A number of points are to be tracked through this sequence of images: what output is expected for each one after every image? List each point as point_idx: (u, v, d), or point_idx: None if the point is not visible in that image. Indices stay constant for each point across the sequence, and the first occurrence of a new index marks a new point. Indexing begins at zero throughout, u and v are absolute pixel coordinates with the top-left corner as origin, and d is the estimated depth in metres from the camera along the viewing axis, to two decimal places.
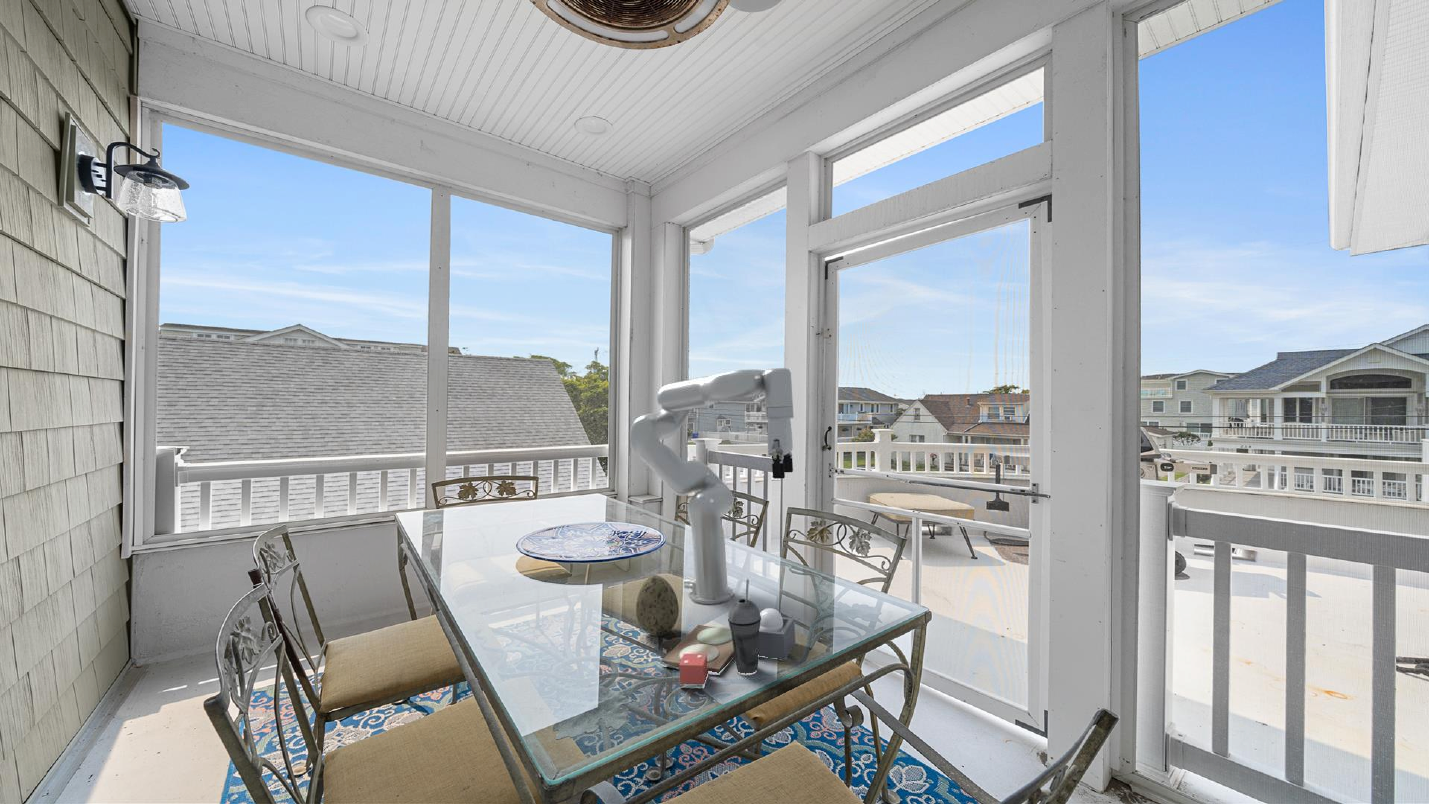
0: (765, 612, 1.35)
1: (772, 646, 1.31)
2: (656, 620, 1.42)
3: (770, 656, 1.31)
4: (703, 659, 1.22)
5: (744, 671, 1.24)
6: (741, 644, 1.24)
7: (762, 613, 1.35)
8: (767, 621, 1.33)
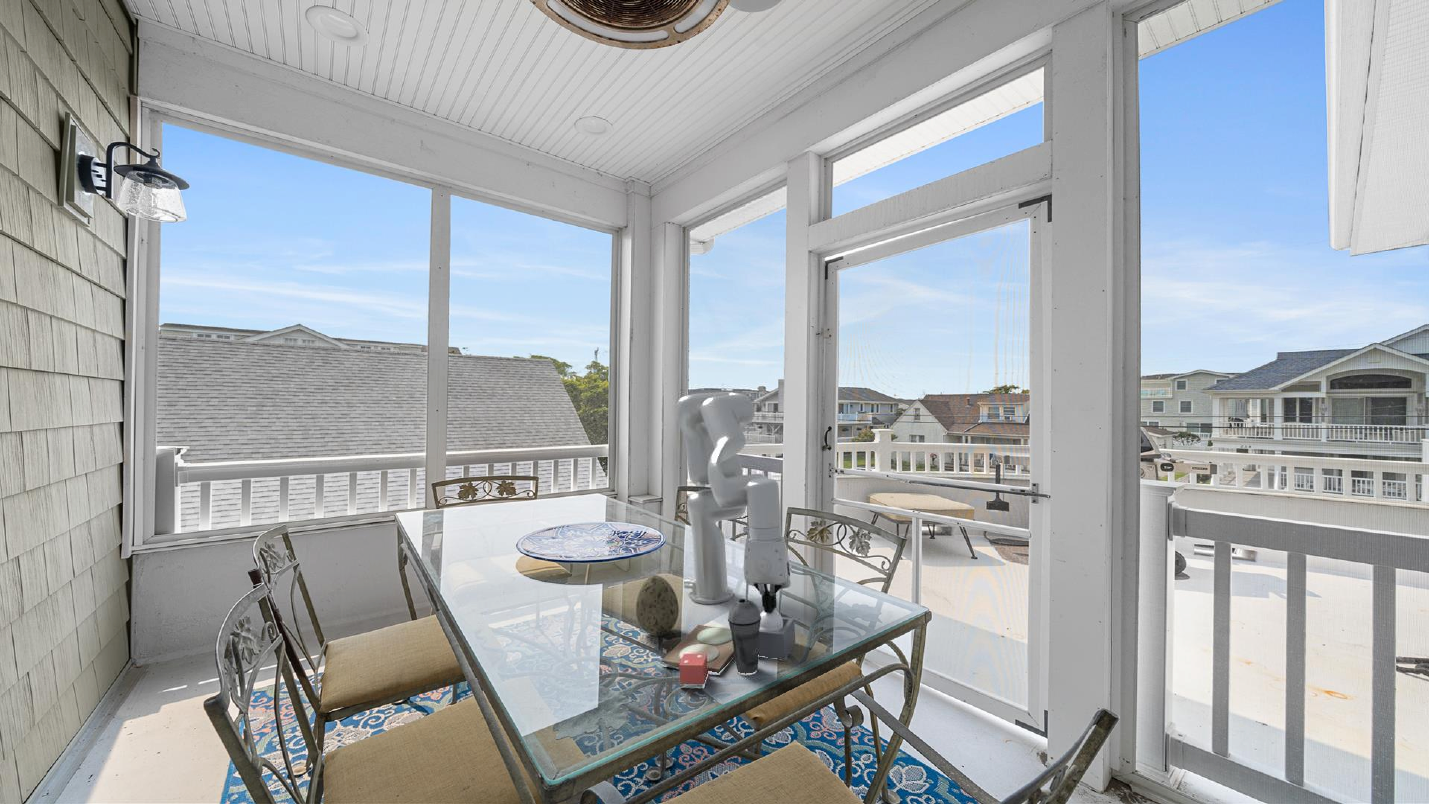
0: (765, 613, 1.35)
1: (772, 646, 1.31)
2: (656, 620, 1.42)
3: (770, 656, 1.31)
4: (703, 659, 1.22)
5: (744, 671, 1.24)
6: (741, 644, 1.24)
7: (762, 614, 1.35)
8: (767, 622, 1.33)
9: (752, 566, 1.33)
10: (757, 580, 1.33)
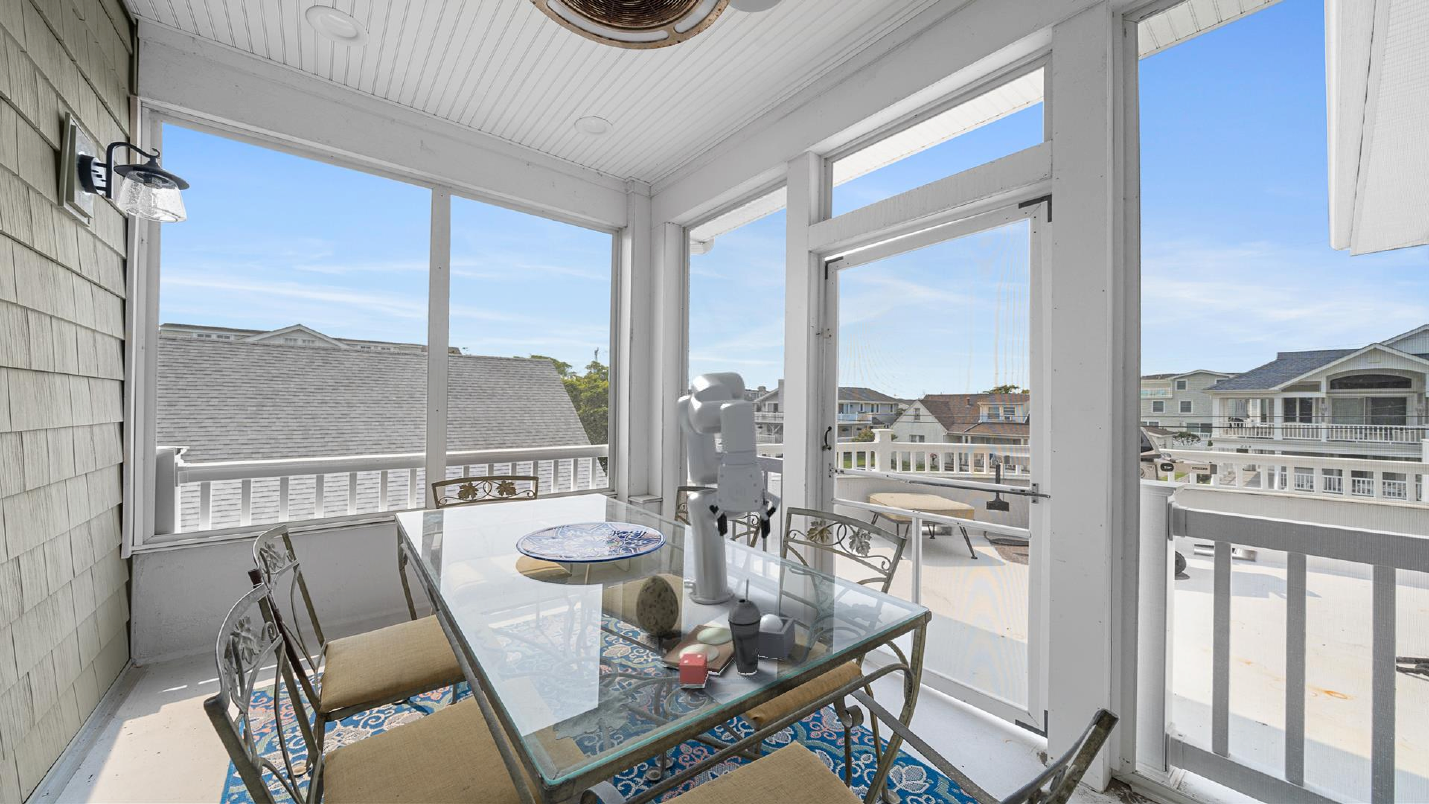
0: (765, 618, 1.35)
1: (772, 646, 1.31)
2: (656, 620, 1.42)
3: (770, 656, 1.31)
4: (703, 659, 1.22)
5: (744, 671, 1.24)
6: (741, 644, 1.24)
7: (762, 619, 1.35)
8: (767, 627, 1.33)
9: (726, 493, 1.25)
10: (731, 508, 1.25)
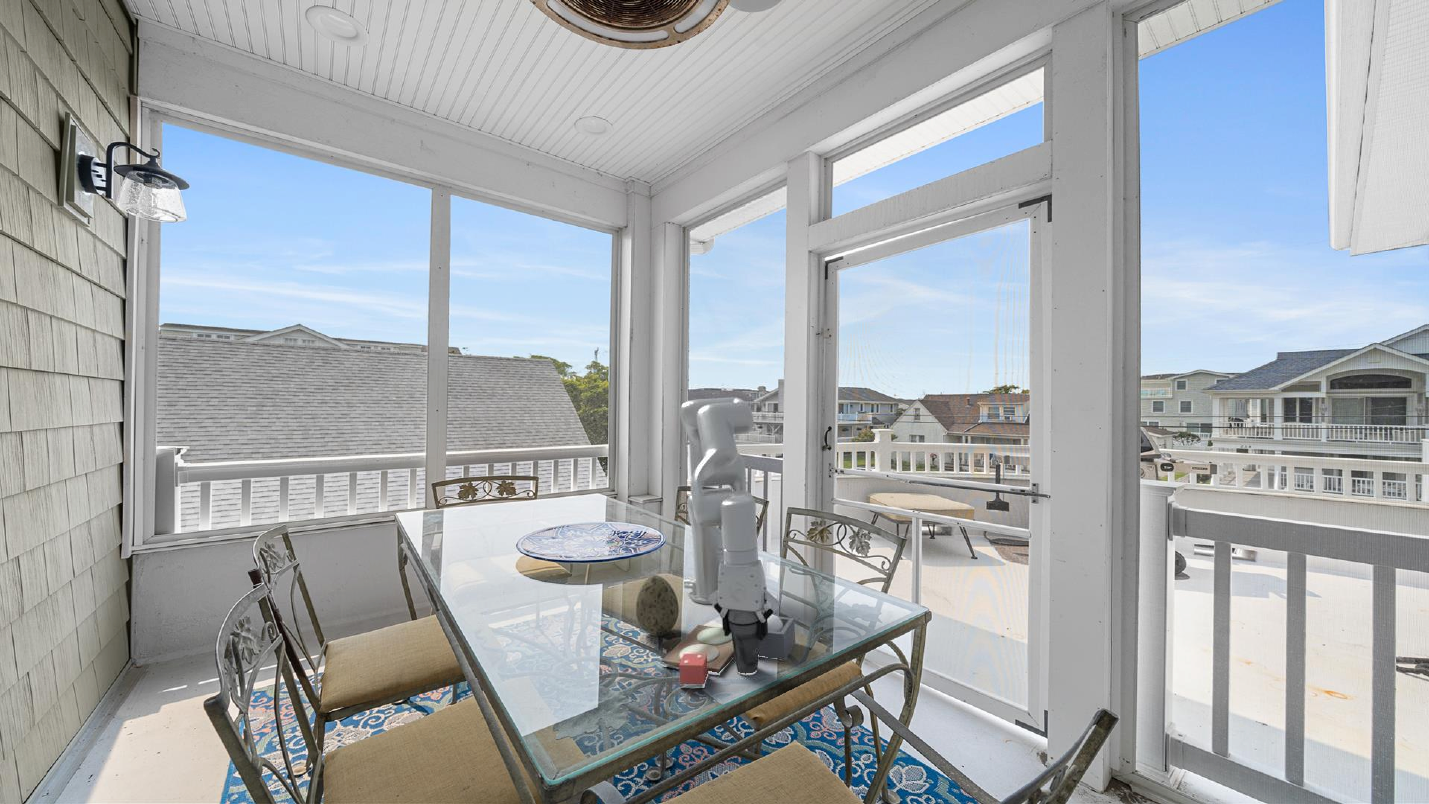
0: None
1: (772, 646, 1.31)
2: (656, 620, 1.42)
3: (770, 656, 1.31)
4: (703, 659, 1.22)
5: (744, 671, 1.24)
6: (741, 644, 1.24)
7: None
8: None
9: (726, 591, 1.24)
10: (732, 606, 1.24)
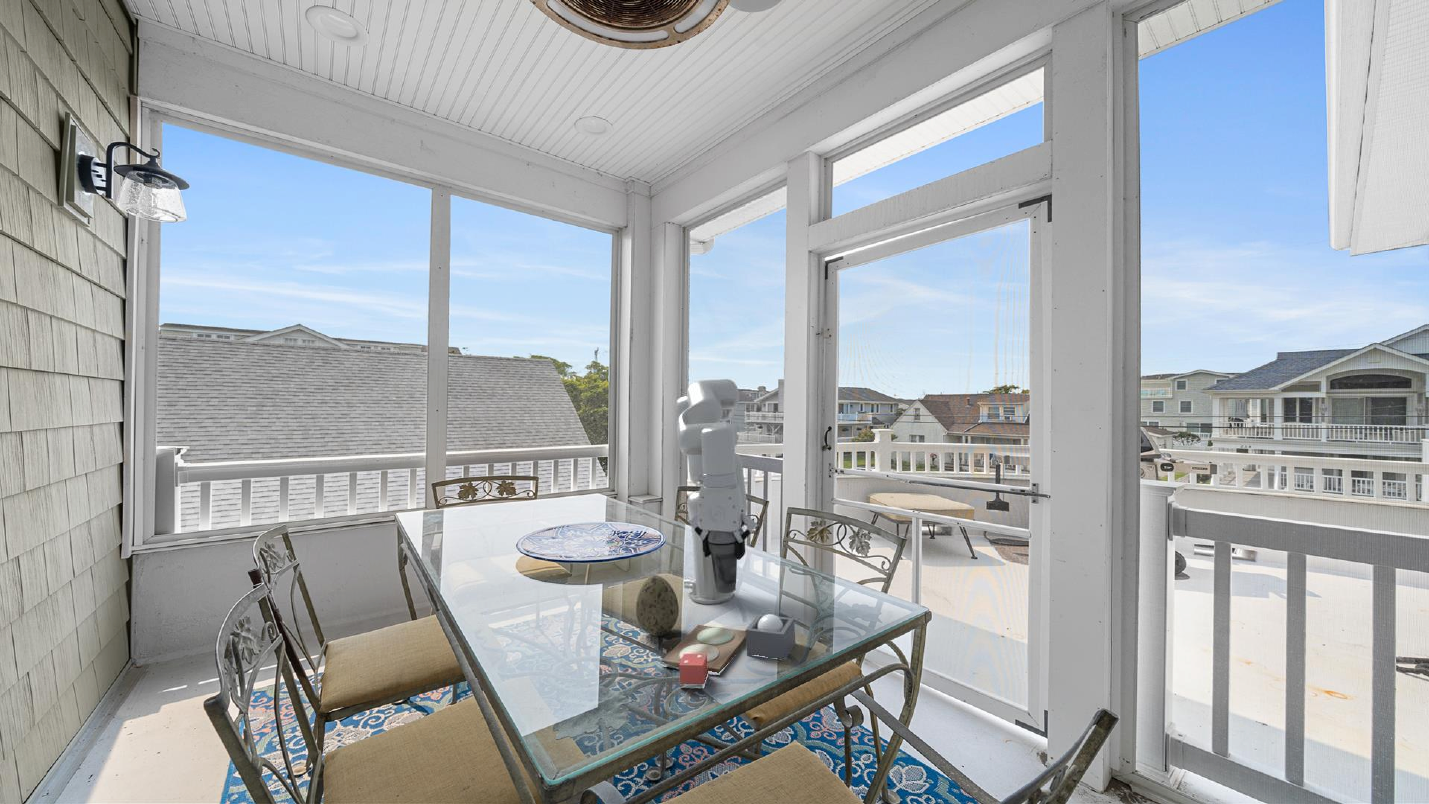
0: (765, 618, 1.35)
1: (772, 646, 1.31)
2: (656, 620, 1.42)
3: (770, 656, 1.31)
4: (703, 659, 1.22)
5: (722, 589, 1.32)
6: (720, 563, 1.31)
7: (762, 619, 1.35)
8: (767, 627, 1.33)
9: (706, 514, 1.31)
10: (711, 528, 1.31)
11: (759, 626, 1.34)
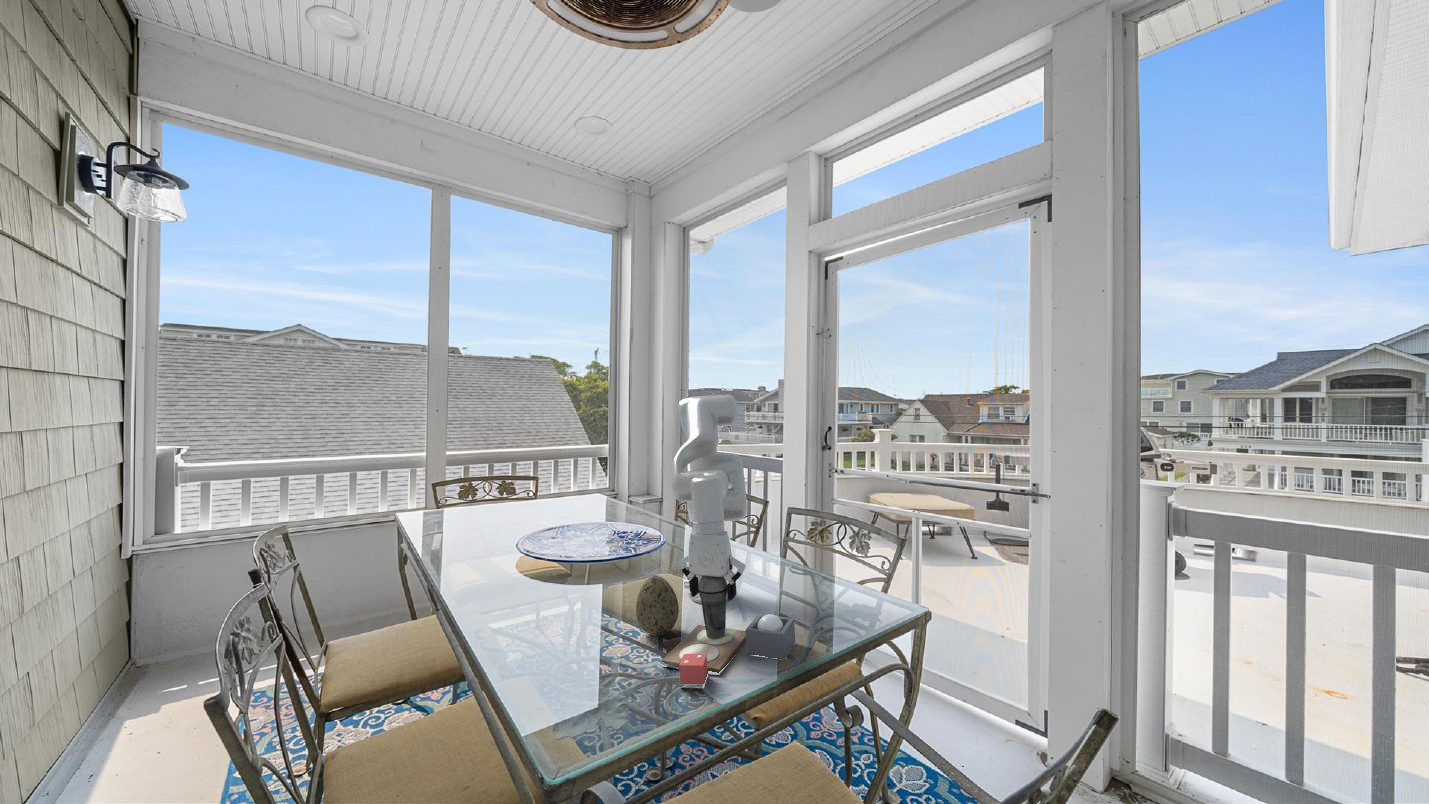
0: (765, 618, 1.35)
1: (772, 646, 1.31)
2: (656, 620, 1.42)
3: (770, 656, 1.31)
4: (703, 659, 1.22)
5: (712, 635, 1.39)
6: (709, 611, 1.38)
7: (762, 619, 1.35)
8: (767, 627, 1.33)
9: (696, 559, 1.39)
10: (700, 572, 1.38)
11: (759, 626, 1.34)
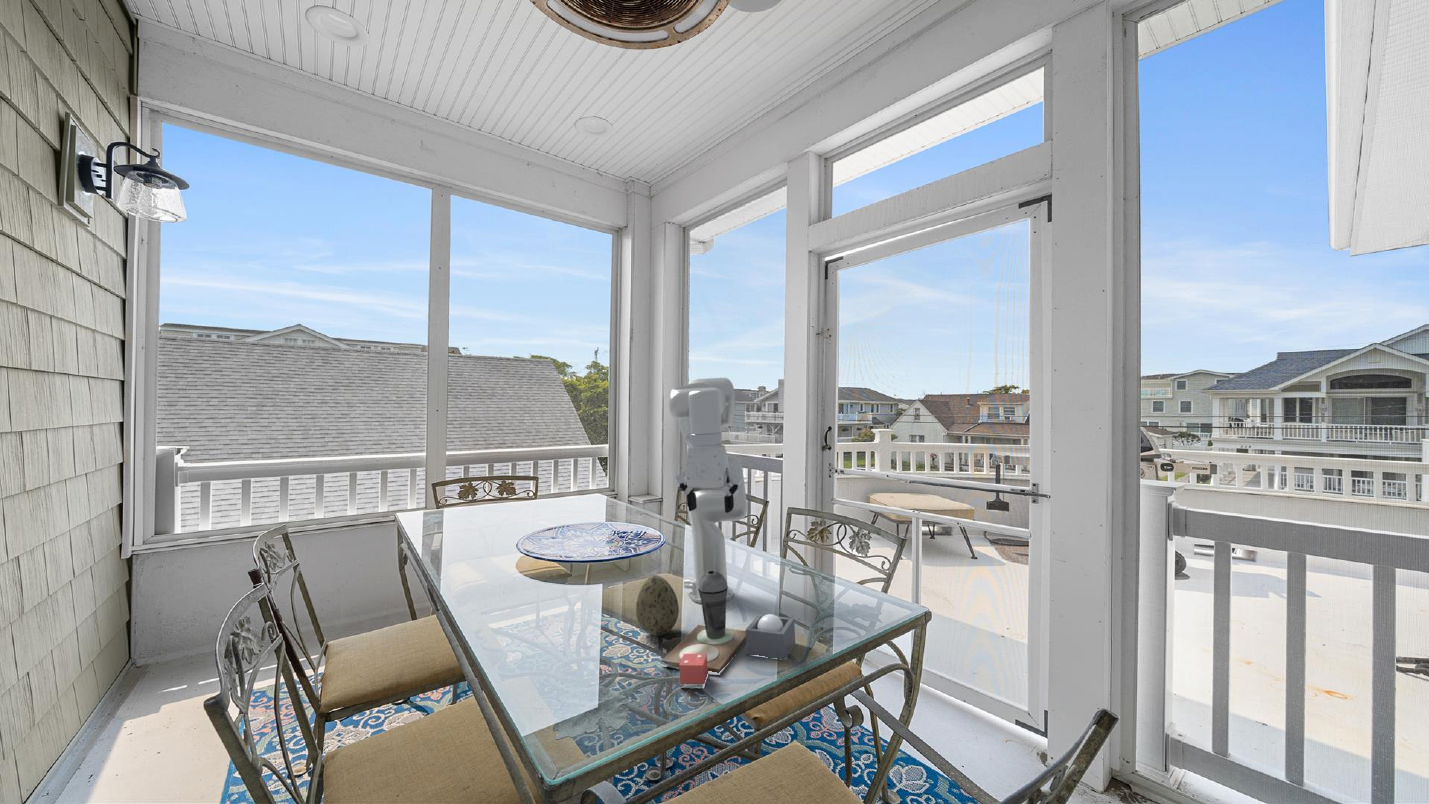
0: (765, 618, 1.35)
1: (772, 646, 1.31)
2: (656, 620, 1.42)
3: (770, 656, 1.31)
4: (703, 659, 1.22)
5: (712, 635, 1.39)
6: (709, 611, 1.38)
7: (762, 619, 1.35)
8: (767, 627, 1.33)
9: (693, 472, 1.39)
10: (698, 485, 1.38)
11: (759, 626, 1.34)
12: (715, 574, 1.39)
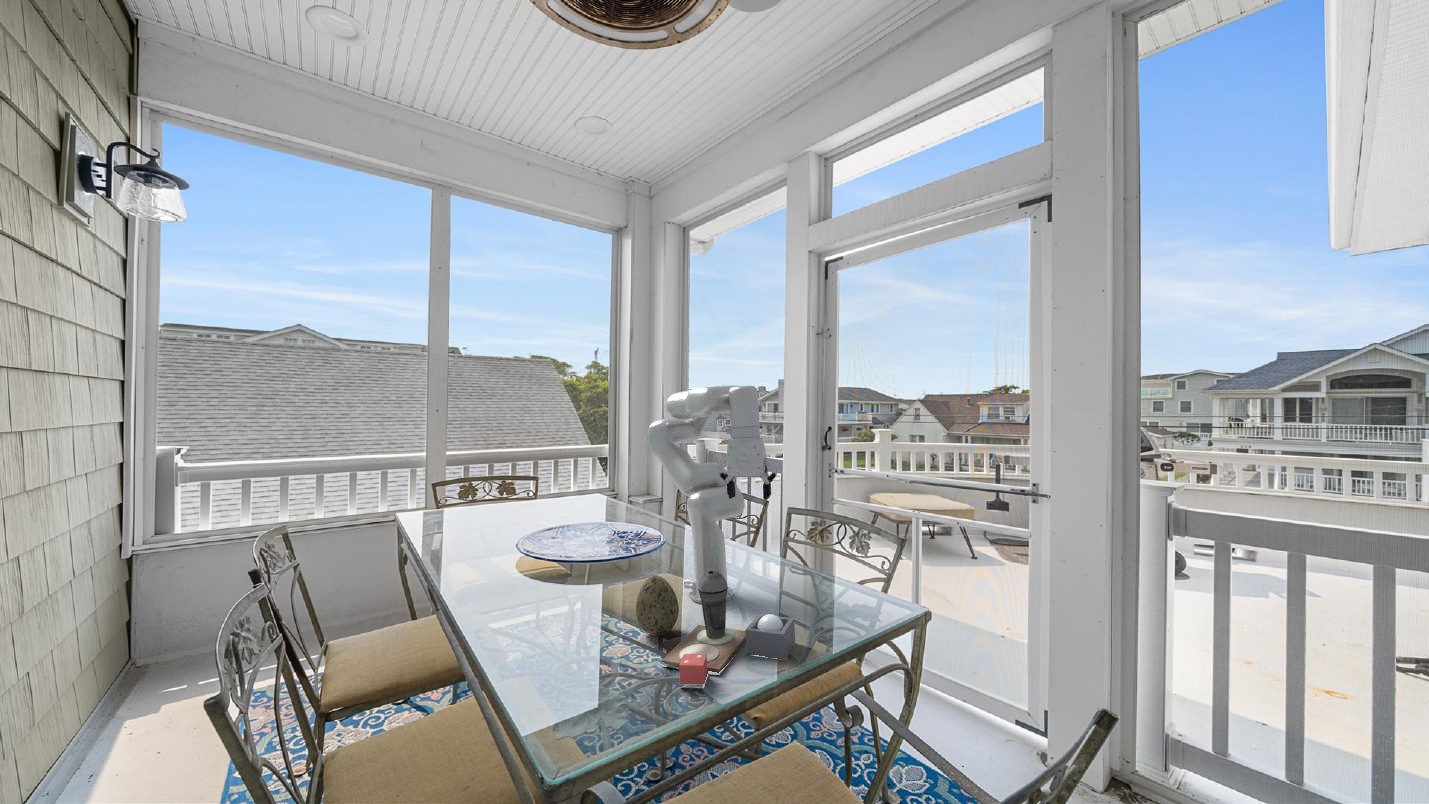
0: (765, 618, 1.35)
1: (772, 646, 1.31)
2: (656, 620, 1.42)
3: (770, 656, 1.31)
4: (703, 659, 1.22)
5: (712, 635, 1.39)
6: (709, 611, 1.38)
7: (762, 619, 1.35)
8: (767, 627, 1.33)
9: (734, 462, 1.50)
10: (738, 474, 1.50)
11: (759, 626, 1.34)
12: (715, 574, 1.39)
